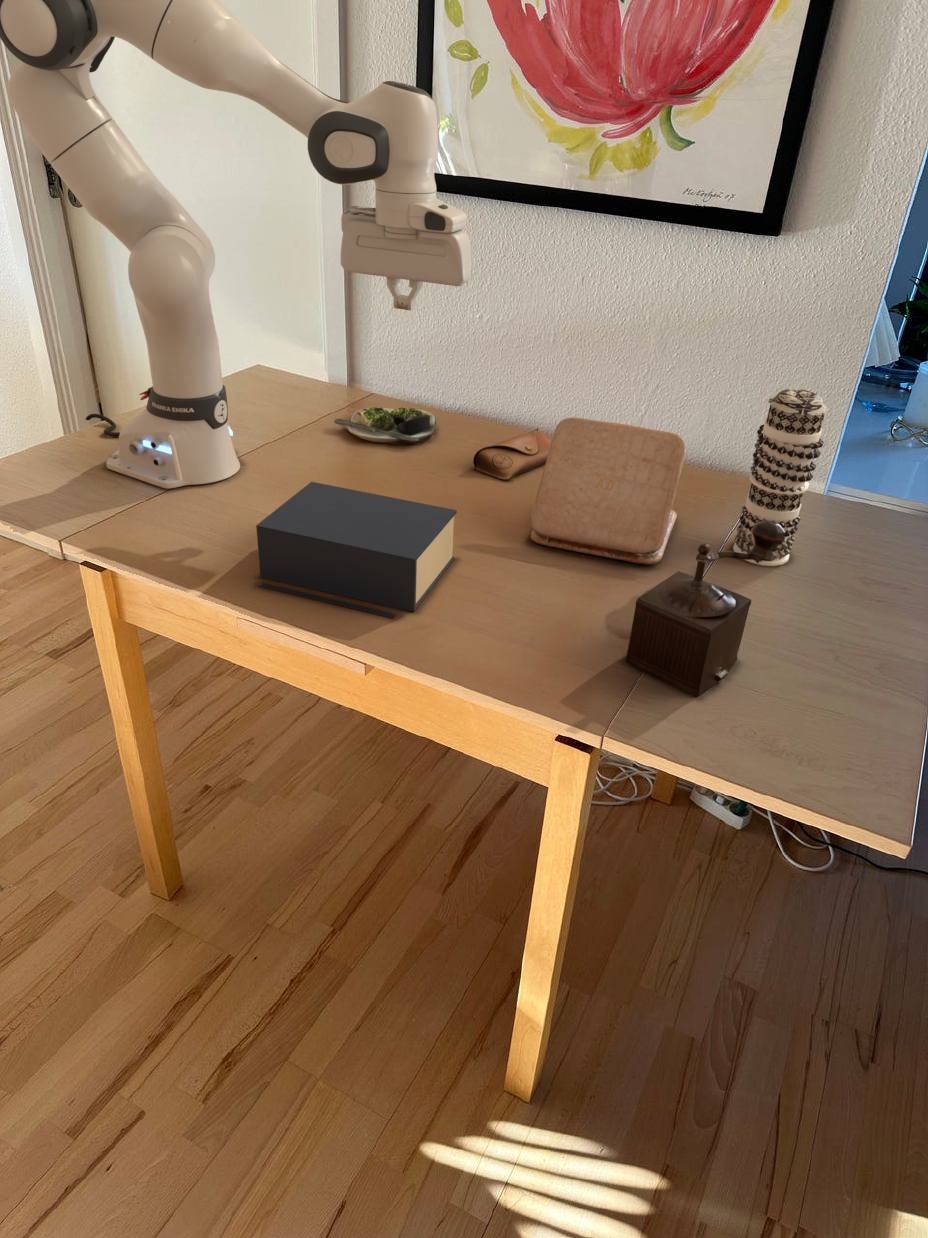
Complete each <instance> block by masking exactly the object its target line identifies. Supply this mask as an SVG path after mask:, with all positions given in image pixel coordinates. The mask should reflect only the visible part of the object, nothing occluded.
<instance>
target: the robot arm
mask: <svg viewBox="0 0 928 1238" xmlns="http://www.w3.org/2000/svg"><path fill="white" fill-rule="evenodd" d="M115 38H117V39H121V40H123V41H124V42H127V43H128V44H130V45H132V46H133V47H135V48H136V49H137V50H139V51H141V52H142V53H143V54H145V55H146V56H147V57H149V58H150V59H152V60H153V61H154V62H156V63H157V64H158V65H160V66H161V67H163V68H164V69H165V70H167V71H169V72H170V73H172V74H174V75H176V76H178V77H179V78H181V79H183V80H185V81H187V82H189V83H191V84H194V85H195V86H198V87H200V88H202V89H207V90H212V91H217V92H224V93H228V94H229V93H230V94H233V95H237V96H241V97H243V98H247V99H248V100H251V101H253V102H255V103H257V104H259V105H260V106H261V107H263V108H265V109H266V110H268V111H269V112H270V113H272V114H273V115H274V116H276V117H277V118H279V119H281V120H282V121H283V122H284V123H286V124H288V125H289V126H290V127H291V128H294V129H295V130H296V131H298V132H299V133H301V134H302V135H303V136H304V137H306V138H307V153H308V157H309V160H310V163H311V165H312V166H313V167H314V169H315V171H316V172H317V173H318V174H319V175H320V176H321V177H322V178H323V179H325V180H326V181H329V182H331V183H332V184H336V185H342V186H349V185H354V184H357V183H362V182H367V181H374V184H375V188H374V189H375V190H374V191H375V197H374V199H375V200H374V201H375V202H374V203H375V207H369V206H367V207H361V206H359V205H350V207H349V208H347V209H345V210H344V211H343V212H342V214H341V223H340V224H341V232H342V237H341V245H340V266H341V267H342V269H343V270H344V272H346V273H354V274H361V275H369V276H376V277H384V278H386V286H387V288H388V290H389V292H390V294H391V296H392V297H393V308H394V309H397V310H405V311H414V310H415V309H416V298H417V296H418V295H419V293H420V291H421V289H422V288H423V285H424V284H423V283H430V284H437V285H445V286H451V287H461V286H463V285H464V284H466V283H467V282H468V281H469V280H470V278H471V275H472V248H471V240H470V237H469V235H468V233H467V232H466V231H465V230H464V228H466V226H467V224H468V214H467V213H466V212H464V211H463V210H462V209H459V208H457V207H454V206H453V205H451V204H448V203H446V202H444V201H442V200H441V199H439V198H438V197H437V183H436V178H435V170H436V169H435V168H436V164H437V161H438V156H439V155H438V153H439V152H438V151H439V128H438V113H437V106H436V103H435V101H434V100H433V98H432V96H431V95H430V94H429V93H428V92H427V91H426V90H424V89H422V88H419V87H417V86H414V85H410V84H407V83H403V82H398V81H394V80H385V81H382V82H381V83H380V84H379V85H378V86H377V87H375V88H374V89H373V90H371V91H369V92H368V93H366V94H364V95H363V96H360V97H358V98H357V99H355V100H352V101H349V100H343V99H339V98H334V97H331V96H329V95H328V94H326V93H325V92H322V91H321V90H320V89H318V88H317V87H316V86H314V85H313V84H311V83H310V82H309V81H308V80H307V79H305V78H303V77H301V76H300V75H299V74H298V73H296V72H295V71H293V69H291V68H289V67H288V66H287V65H285V64H284V63H282V61H280V60H278V59H277V58H276V57H274V55H272V54H271V53H270V52H269V51H268V50H267V49H266V48H265V47H264V46H263V45H262V44H261V43H260V42H259V41H258V40H257V39H256V38H255V37H254V36H253V35H252V34H251V32H250V31H249V30H247V28H246V27H245V26H244V25H243V24H242V22H240V21H239V19H238V18H237V17H236V16H235V15H234V14H233V13H232V12H231V11H230V10H229V9H228V8H227V7H226V6H225V5H224V4H223V3H222V2H221V1H220V0H0V40H1V42H2V43H3V45H4V46H5V48H6V49H7V50H8V51H9V52H10V54H12V55H13V56H14V57H15V58H16V59H17V60H19V61H21V62H20V63H19V64H17V66H15V68H14V70H13V71H12V73H11V75H10V77H9V79H8V82H7V96H8V99H9V101H10V104H11V106H12V108H13V110H14V112H15V114H16V115H17V117H18V118H19V120H20V122H21V123H22V125H23V127H24V128H25V130H26V131H27V133H28V135H29V136H30V138H31V139H32V141H33V142H34V144H35V146H37V148H38V150H39V151H40V153H41V154H42V155H43V156H44V158H45V159H46V160H47V162H48V163H49V164H50V166H51V168H52V169H53V170H54V171H55V172H56V174H57V175H58V176H59V177H60V179H61V180H62V181H63V183H64V184H65V185H66V187H67V188H68V189H69V190H70V191H71V193H72V194H73V195H74V197H75V198H76V199H77V200H78V202H79V203H80V204H81V206H82V207H83V208H84V209H85V211H86V212H87V213H88V215H90V217H92V218H93V219H94V220H95V221H97V222H99V223H100V224H101V225H103V227H104V228H106V229H107V230H108V232H110V233H111V234H112V235H113V236H114V237H115V238H116V239H117V240H118V241H119V242H120V243H122V245H123V246H124V247H125V248H126V249H127V250H128V251H129V252H130V255H129V258H128V264H127V265H128V266H127V275H128V281H129V285H130V288H131V290H132V292H133V293H132V294H133V297H134V301H135V305H136V309H137V313H138V317H139V320H140V323H141V327H142V330H143V334H144V337H145V343H146V348H147V355H148V362H149V370H150V376H151V377H150V378H151V383H152V386H150V387H148V388H147V390H145V391H143V392H141V393H139V396H141V397H140V398H139V400H140V401H143V400H146V399H147V403H146V408H145V409H144V410H142V411H141V412H140V413H139V414H137V415H136V416H135V417H134V418H132V419H131V420H130V421H129V422H128V423H126V424H124V426H123V427H122V428H121V430H120V431H119V432H118V431H116V432H114V430H115V429H116V428H117V424H116V422H114V421H113V420H112V419H110V418H109V417H107V416H105V415H103V414H99V413H90V414H88V415H87V416H86V417H85V421H91V420H92V419H100V420H102V421H104V422H106V423H108V424H109V425H110V426H109V427H107V428H105V429H104V430H103V433H104V435H105V436H108V437H117V438H118V442H117V443H118V450H116V451H115V452H114V453H112V454H111V455H110V456H108V457H107V459H106V463H105V464H106V466H105V467H106V469H108V470H111V471H114V472H117V473H119V474H122V475H125V476H128V477H131V478H133V479H136V480H139V481H142V482H145V483H148V484H151V485H154V486H157V487H159V488H161V489H175V488H179V487H184V486H192V485H204V484H212V483H216V482H220V481H223V480H226V479H228V478H231V477H232V476H234V475H235V474H236V473H237V472H239V470H240V469H241V463H240V461H239V458H238V456H237V453H236V450H235V446H234V444H233V440H232V437H233V436H234V434H233V433H234V432H233V430H232V429H231V427H230V425H229V421H228V417H229V406H228V405H229V404H228V397H227V388H226V386H225V385H224V384H223V373H222V372H223V371H222V363H221V354H220V353H221V352H220V343H219V337H218V333H217V330H216V325H215V321H214V315H213V309H212V304H211V299H210V298H211V297H210V279H211V277H212V276H213V273H214V271H215V266H216V254H215V253H216V252H215V248H214V245H213V243H212V241H211V239H210V237H209V235H208V234H207V233H206V232H205V230H204V229H203V228H202V227H200V225H199V224H198V222H197V221H196V220H194V218H193V217H192V215H191V214H190V213H189V212H188V211H187V209H186V208H185V207H184V206H183V205H182V203H180V202H179V200H178V199H177V198H176V197H175V196H174V195H173V193H171V191H170V189H168V187H166V186H165V185H164V184H163V182H161V181H160V179H159V178H158V177H157V175H155V173H154V172H153V171H152V170H151V168H150V167H149V166H148V164H147V163H146V161H145V160H144V159H143V158H142V156H141V155H140V154H139V152H138V151H137V150H136V148H135V146H134V145H133V143H132V142H131V141H130V139H129V138H128V137H127V136H126V134H125V132H124V131H123V130H122V129H121V127H120V126H119V124H118V123H117V122H116V120H115V119H113V118H114V117H113V116H112V115H111V113H110V112H109V111H108V109H107V107H105V106H104V104H103V102H102V101H101V100H100V98H99V97H98V96H97V94H96V92H95V90H94V88H93V86H92V83H91V79H90V73H94V72H96V71H97V70H98V69H99V67H100V65H101V63H102V62H103V59H104V57H105V56H106V55H107V53H108V51H109V50H110V48H111V47H112V45H113V43H114V41H115ZM401 280H408V287H409V288H411V291H410V292H409V294H408V295H404V294H402V291H401V289H400V286H399V284H400V283H401ZM112 431H113V432H112Z"/></svg>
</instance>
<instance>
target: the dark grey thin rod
mask: <svg viewBox="0 0 928 1238" xmlns="http://www.w3.org/2000/svg"><path fill="white" fill-rule="evenodd" d="M258 587H259V588H263V589H267V590H271V591H275V592H280V593H284V594H288V595H291V596H297V597H301V598H305V599H309V600H313V601H318V602H322V603H326V604H329V605H333V606H339V607H343V608H347V609H351V610H356V611H359V612H363V613H368V614H371V615H377V616H379V617H380V616H381V617H385V618H389V619H395V617H397V613H392V612H388V611H384V610H379V609H375V608H371V607H367V606H363V605H358V604H354V603H350V602H345V601H341V600H337V599H333V598H328V597H324V596H320V595H316V594H312V593H308V592H303V591H300V590H295V589H291V588H286V587H283V586H278V585H273V584H269V583H266V582H261V584H259V586H258Z"/></svg>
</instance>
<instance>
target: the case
mask: <svg viewBox="0 0 928 1238" xmlns="http://www.w3.org/2000/svg"><path fill="white" fill-rule="evenodd" d="M686 453H687V443H686V441H685V440H684V438H683V437H682V436H681V435H680V434H677V433H674V432H670V431H666V430H665V431H664V430H659V429H652V428H647V427H646V428H645V427H641V426H636V425H632V424H627V423H620V422H619V423H618V422H609V421H602V420H595V419H589V418H583V417H566V418H564V419H562V420H561V421H559V423H558V424H557V425H556V427H555V429H554V432H553V436H552V440H551V447H550V450H549V453H548V457H547V460H546V464H544V467H543V471H542V475H541V479H540V482H539V485H538V489H537V493H536V495H535V499H534V502H533V506H532V510H531V512H530V513H531V514H530V518H529V524H530V527H531V529H532V530H531V532H530V539H531V540H532V542H535V544H538V545H541V546H546V547H551V548H557V549H560V550H566V551H572V552H577V553H582V554H587V555H593V556H597V557H603V558H609V559H613V560H618V561H625V562H629V563H633V564H634V563H635V564H639V565H640V564H641V565H645V566H646V565H647V566H651V565H656V564H659V562H660V561H661V560H662V558H663V556H664V553H665V551H666V548H667V547H666V546H667V545H668V542H669V539H670V537H671V534H672V530H673V528H674V525H675V522H676V520H677V517H678V514H677V513H676V511H675V510H673V505H674V500H675V496H676V492H677V488H678V484H679V481H680V477H681V473H682V470H683V469H682V468H683V466H684V460H685V457H686Z"/></svg>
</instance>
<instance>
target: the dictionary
mask: <svg viewBox="0 0 928 1238" xmlns="http://www.w3.org/2000/svg"><path fill="white" fill-rule="evenodd" d="M457 513H458V510H457V509H453V508H449V507H443V506H438V505H433V504H427V503H422V502H417V501H411V500H407V499H402V498H397V497H392V496H386V495H382V494H376V493H371V492H366V491H361V490H358V489H357V490H356V489H351V488H347V487H346V488H345V487H341V486H335V485H331V484H326V483H320V482H315V481H310V482H309V483H308V484H306V485H305V486H304V487H303V488H301V489H300V490H299V491H298V492H297V493H295V494H293V495H292V496H291V497H290V498H289V499H288V500H286V501H285V502H284V503H283V504H281V505H280V506H278V507H277V508H276V509H275V510H274V511H272V512H270V514H268V515H267V516H266V517H265V518H263V519H262V520H261V521H260V522H258V523H257V524H255V526H256V527H255V528H256V538H257V539H256V540H257V553H258V565H259V566H258V567H259V577H260V578H262V579H267V580H272V581H276V582H281V583H285V584H290V585H293V586H298V587H302V588H307V589H311V590H316V591H320V592H323V593H329V594H332V595H337V596H341V597H345V598H350V599H354V600H358V601H364V602H368V603H371V604H372V603H373V604H376V605H381V606H385V607H390V608H393V609H398V610H402V611H408V612H411V613H415V611H416V610H417V609H418V608H419V606H420V605H421V604H422V602H423V601H424V600H425V599H426V597H427V596H428V595H429V593H430V592H431V591H432V589H433V588H434V587H435V586H436V584H437V583H438V582H439V580H440V579H441V578H442V576H443V575H444V574H445V573H446V571H447V570H448V568H449V567H450V566H451V564H452V563H454V561H455V556H453V550H454V549H453V547H454V528H455V527H454V526H455V515H456V514H457Z"/></svg>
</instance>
